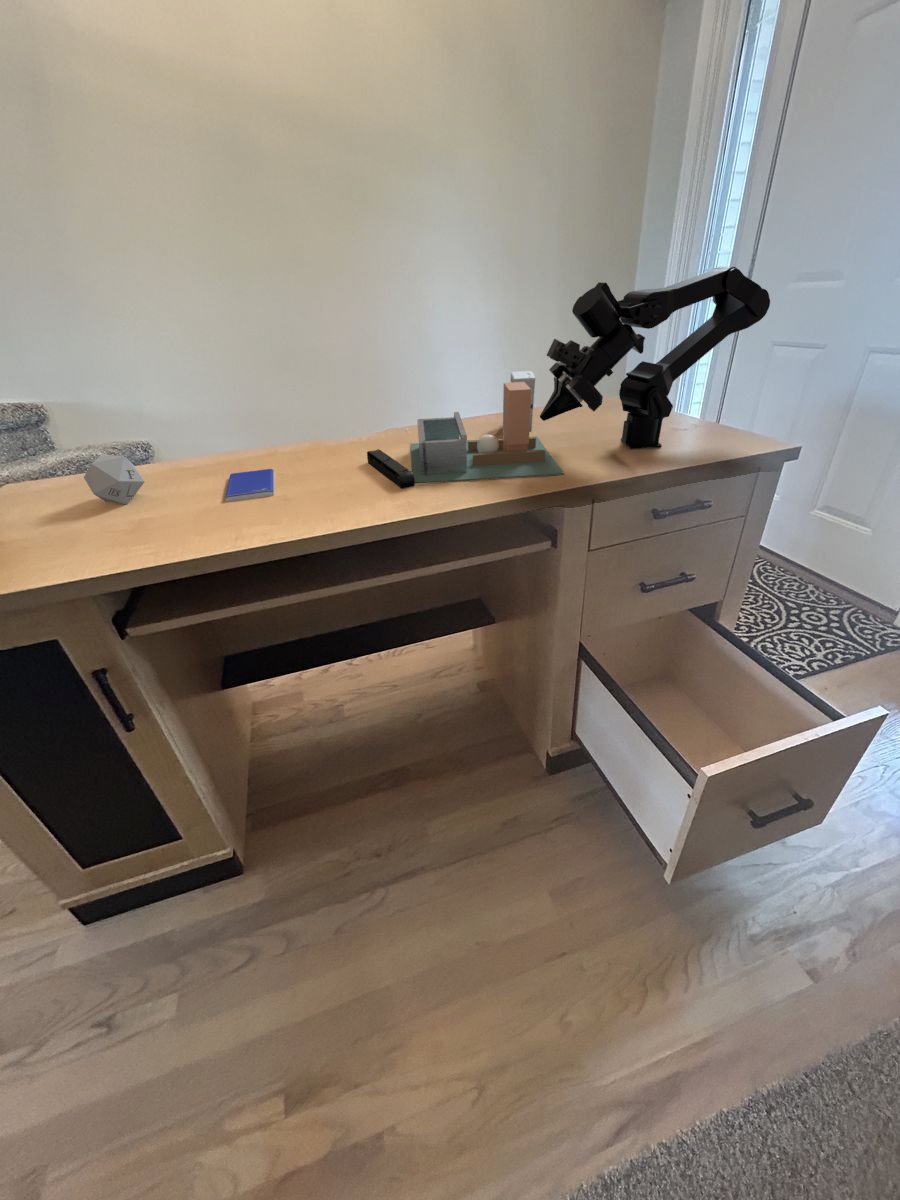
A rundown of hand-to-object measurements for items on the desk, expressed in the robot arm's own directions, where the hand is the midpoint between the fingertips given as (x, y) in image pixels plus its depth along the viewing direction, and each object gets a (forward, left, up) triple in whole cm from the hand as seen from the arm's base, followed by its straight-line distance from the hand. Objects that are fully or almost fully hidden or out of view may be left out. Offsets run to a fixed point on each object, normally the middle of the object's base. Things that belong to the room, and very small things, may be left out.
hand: (541, 418), depth 103 cm
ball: (+10, 0, -5) cm, 12 cm away
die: (+78, +11, -7) cm, 79 cm away
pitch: (+12, 0, -7) cm, 14 cm away
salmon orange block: (+5, 0, -7) cm, 9 cm away
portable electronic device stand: (+30, +6, -8) cm, 32 cm away
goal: (+20, 0, -7) cm, 21 cm away
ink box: (0, -21, -7) cm, 22 cm away
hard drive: (+56, +8, -8) cm, 57 cm away
